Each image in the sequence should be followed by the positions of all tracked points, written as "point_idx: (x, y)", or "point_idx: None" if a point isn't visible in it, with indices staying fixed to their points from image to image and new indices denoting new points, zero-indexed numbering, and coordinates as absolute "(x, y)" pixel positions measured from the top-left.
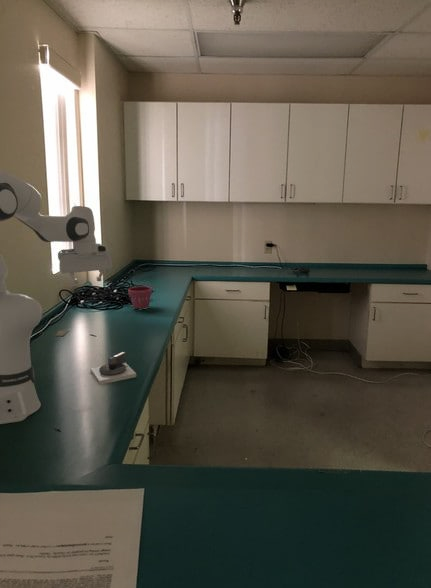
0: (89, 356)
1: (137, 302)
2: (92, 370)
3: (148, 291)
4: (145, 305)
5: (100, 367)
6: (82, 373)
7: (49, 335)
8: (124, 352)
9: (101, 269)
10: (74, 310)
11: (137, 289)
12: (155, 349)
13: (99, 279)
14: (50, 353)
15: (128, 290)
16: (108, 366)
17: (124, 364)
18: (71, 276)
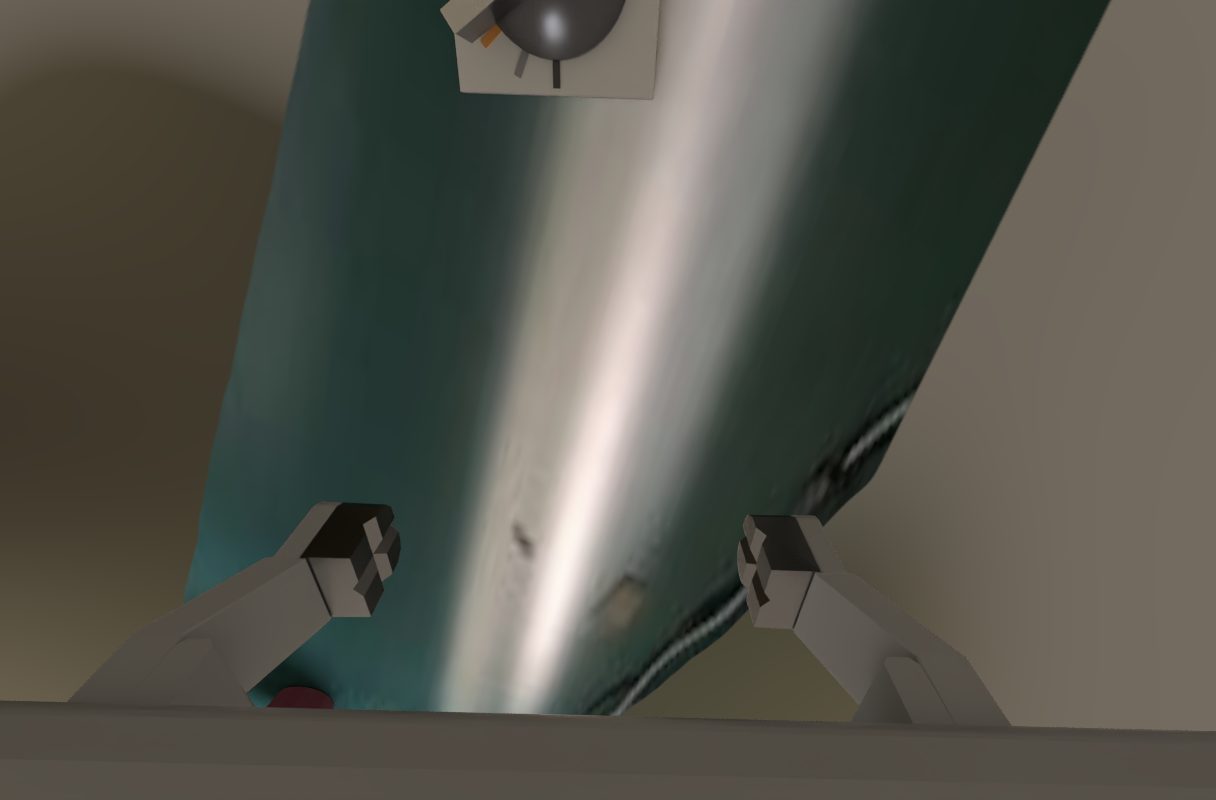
0: (597, 323)
1: None
2: (653, 54)
3: None
4: (279, 702)
5: (614, 20)
6: (692, 103)
7: (665, 603)
8: (443, 11)
9: (74, 715)
10: None
11: None
12: (279, 247)
13: (338, 519)
14: (724, 438)
15: None
16: (568, 7)
17: (470, 44)
18: (931, 635)
